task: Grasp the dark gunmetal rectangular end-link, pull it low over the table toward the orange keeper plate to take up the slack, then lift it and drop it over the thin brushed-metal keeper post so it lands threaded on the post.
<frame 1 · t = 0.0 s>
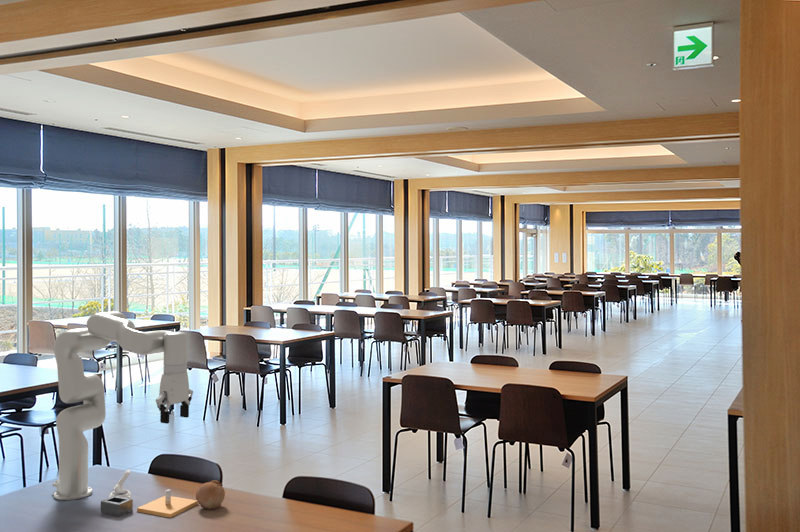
hand: (174, 420, 231), 31 cm above the table, tool pointing down, fingers open, 9 cm apart
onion: (210, 508, 236), on the table
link: (116, 511, 231), on the table
keeper: (168, 507, 236), on the table
hook: (120, 497, 246), on the table
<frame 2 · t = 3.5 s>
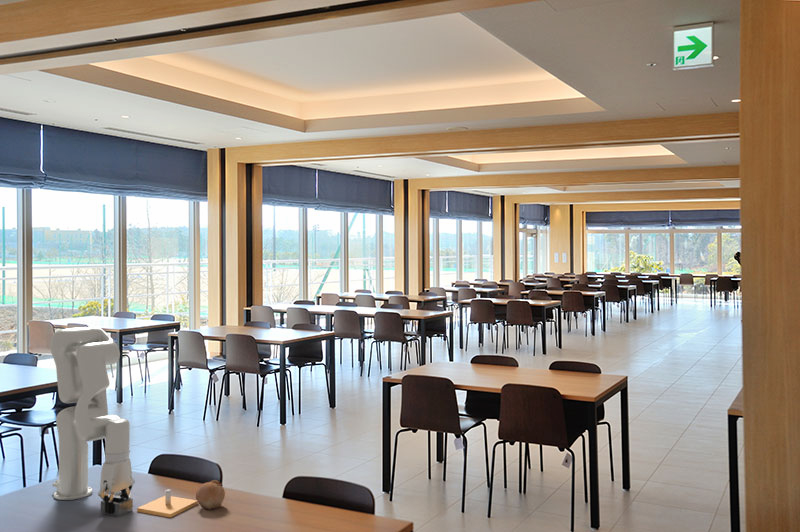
hand: (116, 509, 231), 1 cm above the table, tool pointing down, fingers closed on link, 6 cm apart
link: (116, 511, 231), on the table, touching gripper
everything else where it was.
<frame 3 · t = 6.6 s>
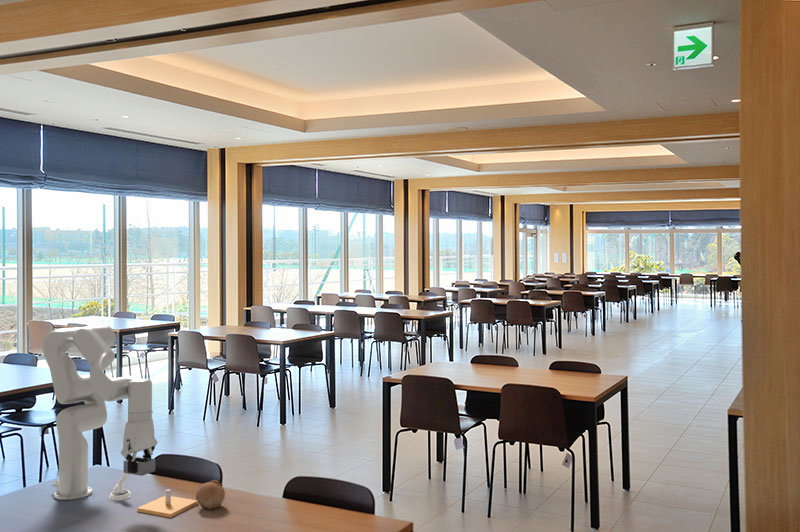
hand: (139, 469, 230), 15 cm above the table, tool pointing down, fingers closed on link, 6 cm apart
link: (139, 471, 230), point 14 cm above the table, touching gripper
everything else where it was.
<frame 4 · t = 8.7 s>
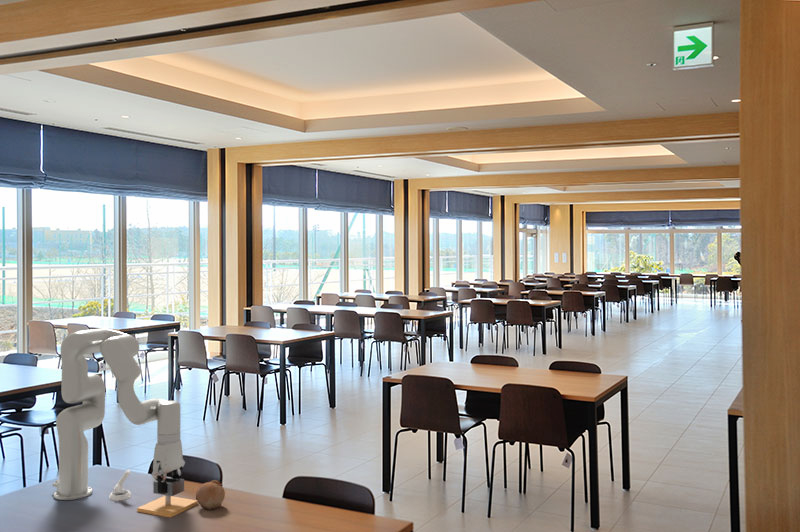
hand: (168, 489, 236), 6 cm above the table, tool pointing down, fingers closed on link, 6 cm apart
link: (168, 491, 236), point 5 cm above the table, touching gripper
everything else where it was.
when the fingers open (3 cm above the table, at t = 10.2 s): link drops 1 cm, resting on keeper.
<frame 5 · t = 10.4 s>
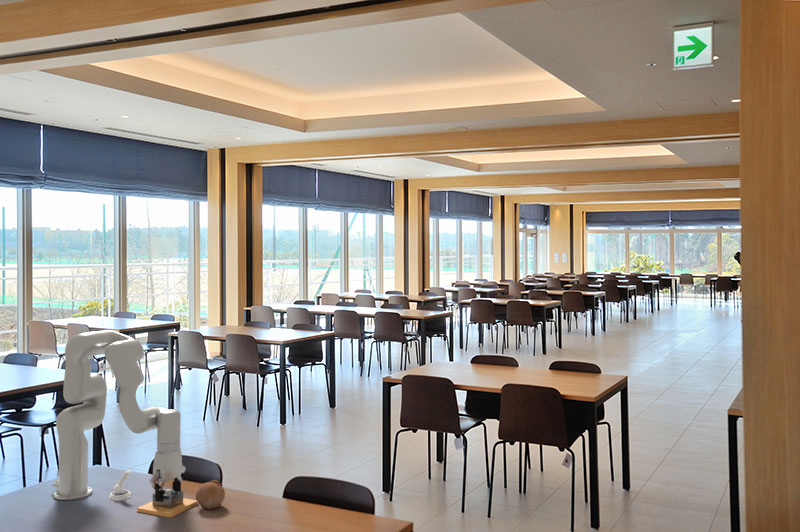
hand: (168, 497, 236), 4 cm above the table, tool pointing down, fingers open, 8 cm apart
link: (167, 504, 236), point 1 cm above the table, touching keeper
everything else where it was.
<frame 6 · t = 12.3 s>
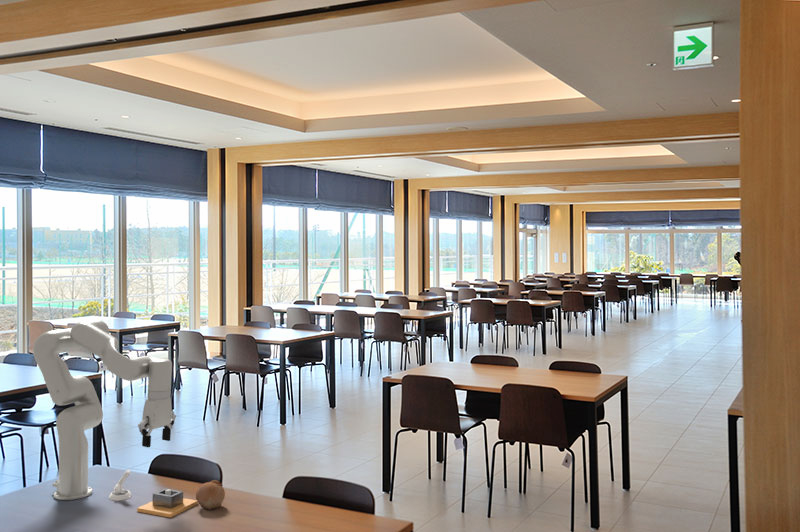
hand: (156, 443, 240), 21 cm above the table, tool pointing down, fingers open, 9 cm apart
nothing on the table moved.
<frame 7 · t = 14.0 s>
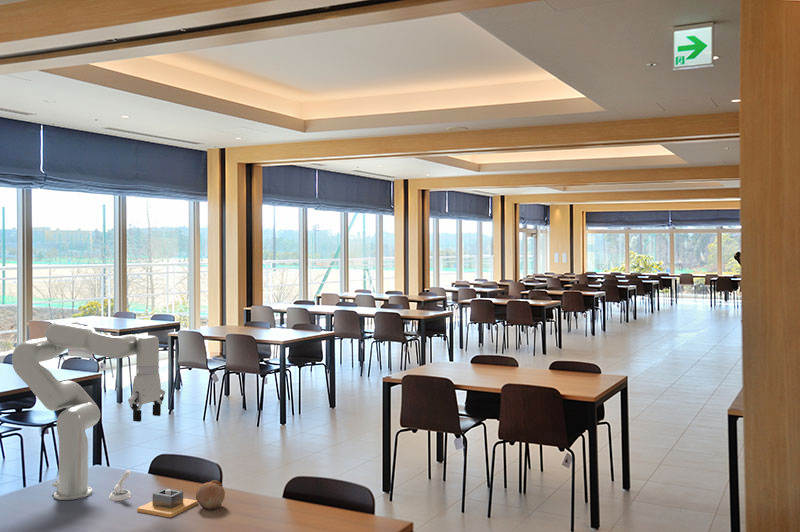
hand: (147, 418, 245), 28 cm above the table, tool pointing down, fingers open, 9 cm apart
nothing on the table moved.
at the end: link 0.0 cm from the keeper (horizontally); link point 1.2 cm above the table; the gripper is holding nothing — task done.
